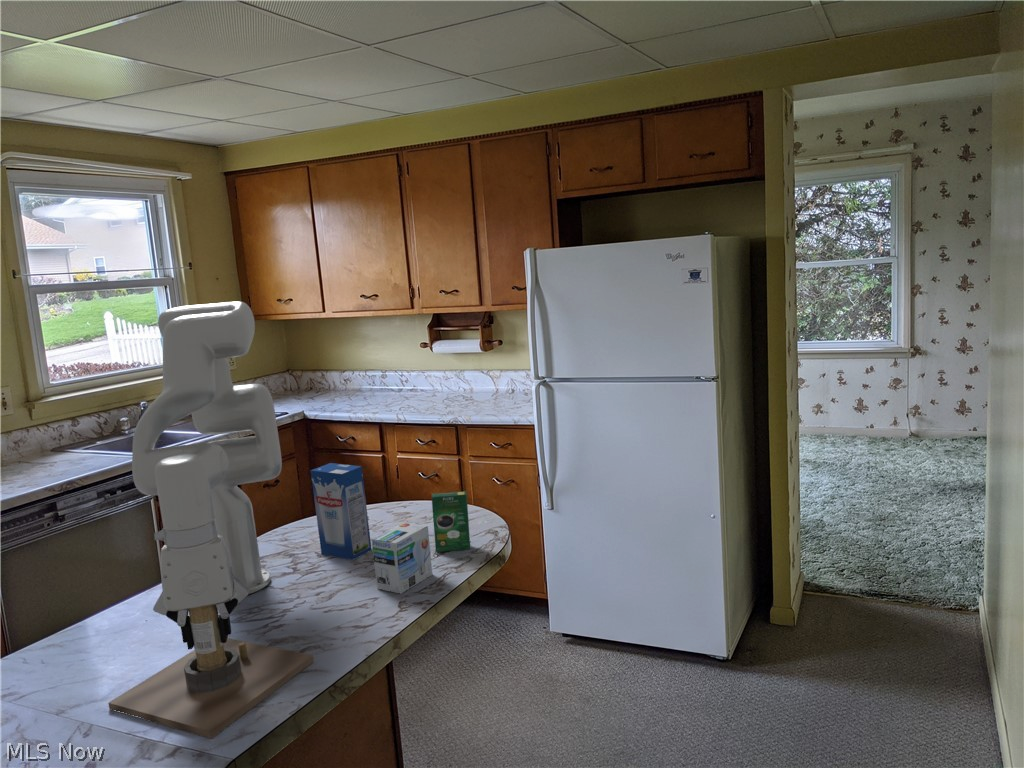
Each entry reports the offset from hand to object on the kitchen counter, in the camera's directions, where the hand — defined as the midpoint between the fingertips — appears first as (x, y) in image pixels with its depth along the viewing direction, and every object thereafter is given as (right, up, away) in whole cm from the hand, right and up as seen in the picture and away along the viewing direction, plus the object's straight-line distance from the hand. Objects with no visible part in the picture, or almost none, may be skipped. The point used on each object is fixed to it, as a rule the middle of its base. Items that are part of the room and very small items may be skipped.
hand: (208, 641), depth 125 cm
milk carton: (+11, +2, +55) cm, 56 cm away
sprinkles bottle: (0, -4, +1) cm, 5 cm away
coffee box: (+36, +4, +51) cm, 62 cm away
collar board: (+1, -7, +1) cm, 8 cm away
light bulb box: (+27, 0, +36) cm, 44 cm away
